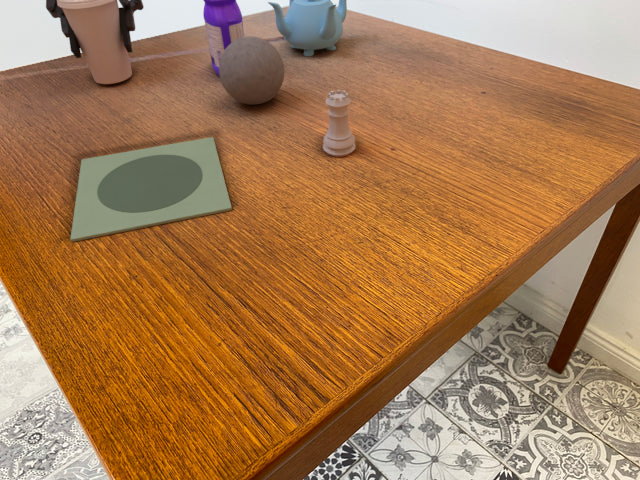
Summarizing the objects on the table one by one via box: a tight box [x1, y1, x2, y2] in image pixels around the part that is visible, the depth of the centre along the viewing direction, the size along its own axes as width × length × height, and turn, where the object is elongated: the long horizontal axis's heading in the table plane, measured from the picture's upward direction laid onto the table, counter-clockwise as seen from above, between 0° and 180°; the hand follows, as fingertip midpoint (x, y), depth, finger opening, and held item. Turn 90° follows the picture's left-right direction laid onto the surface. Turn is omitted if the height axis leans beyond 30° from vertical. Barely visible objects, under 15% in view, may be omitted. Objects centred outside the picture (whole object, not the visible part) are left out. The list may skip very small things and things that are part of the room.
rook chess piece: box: [322, 89, 356, 158], centre depth 68 cm, size 4×4×8 cm
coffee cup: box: [57, 0, 133, 85], centre depth 87 cm, size 10×10×15 cm
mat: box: [69, 136, 233, 243], centre depth 66 cm, size 18×18×1 cm
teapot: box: [267, 0, 348, 57], centre depth 97 cm, size 13×13×10 cm
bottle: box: [202, 0, 245, 77], centre depth 87 cm, size 7×6×17 cm
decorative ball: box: [218, 36, 285, 106], centre depth 80 cm, size 10×10×10 cm
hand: (102, 51), depth 86 cm, fingers closed on coffee cup, 8 cm apart
